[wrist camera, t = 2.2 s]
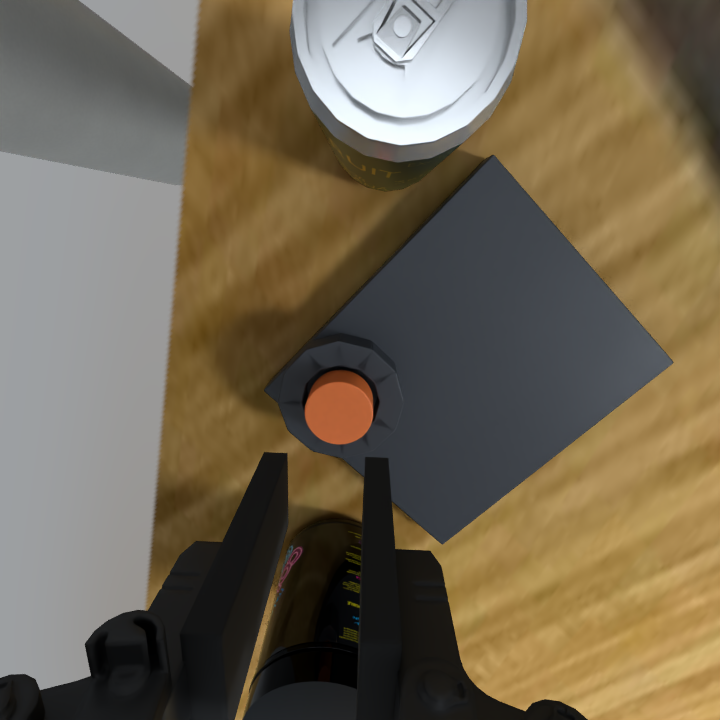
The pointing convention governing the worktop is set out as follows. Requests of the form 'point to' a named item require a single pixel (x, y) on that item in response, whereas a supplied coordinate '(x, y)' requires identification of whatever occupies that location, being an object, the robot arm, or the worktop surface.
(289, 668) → the supplement container
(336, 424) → the button
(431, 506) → the kitchen scale
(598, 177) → the worktop surface
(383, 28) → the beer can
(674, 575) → the worktop surface
